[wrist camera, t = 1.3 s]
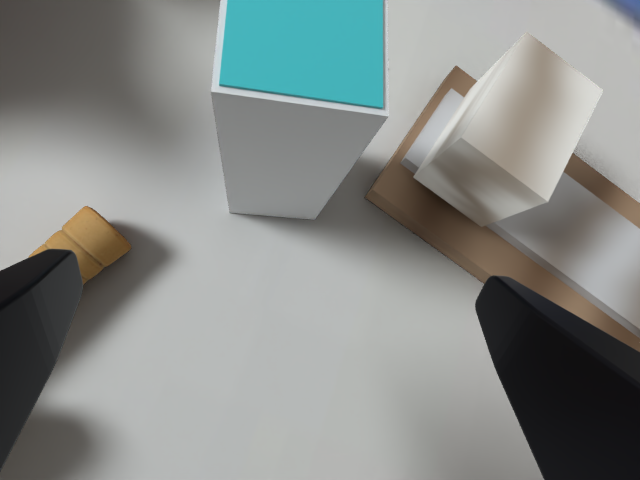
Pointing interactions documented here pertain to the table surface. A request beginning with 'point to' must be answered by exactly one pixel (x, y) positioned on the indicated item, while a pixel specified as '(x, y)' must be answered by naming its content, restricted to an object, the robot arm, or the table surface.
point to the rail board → (520, 188)
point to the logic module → (296, 98)
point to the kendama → (89, 242)
